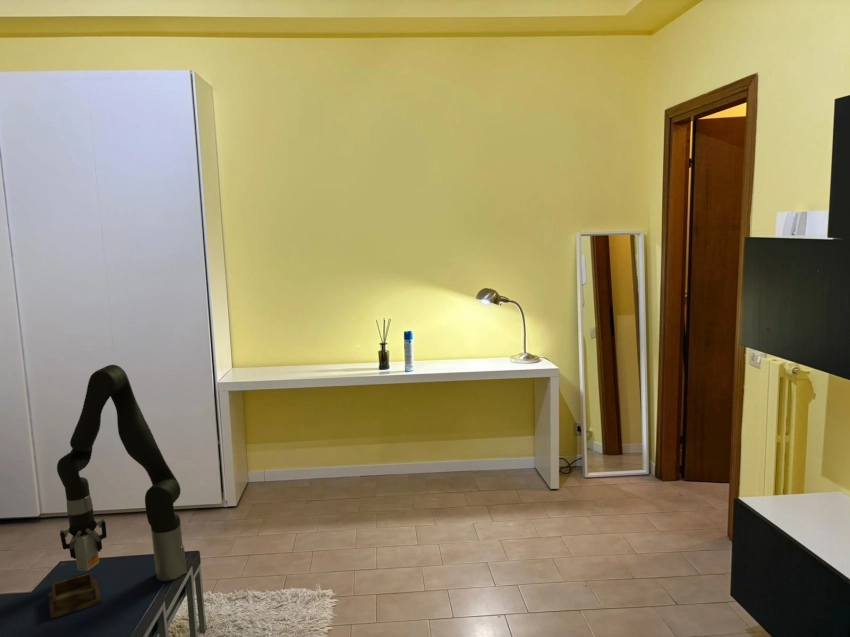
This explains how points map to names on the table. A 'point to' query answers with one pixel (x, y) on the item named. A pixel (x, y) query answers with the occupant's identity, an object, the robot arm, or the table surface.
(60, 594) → the walnut stand
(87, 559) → the skincare box
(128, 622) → the table surface
